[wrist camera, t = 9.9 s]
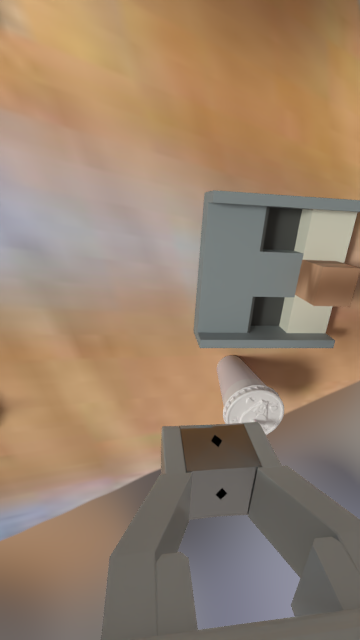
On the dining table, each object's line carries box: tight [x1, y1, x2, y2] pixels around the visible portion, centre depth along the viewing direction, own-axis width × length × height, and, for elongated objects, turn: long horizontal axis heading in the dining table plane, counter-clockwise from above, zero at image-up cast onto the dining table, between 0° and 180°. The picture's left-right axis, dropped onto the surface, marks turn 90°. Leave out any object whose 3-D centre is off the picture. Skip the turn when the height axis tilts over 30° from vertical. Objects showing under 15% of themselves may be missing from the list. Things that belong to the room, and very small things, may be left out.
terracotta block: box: [295, 260, 360, 307], centre depth 30 cm, size 4×4×4 cm
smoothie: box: [217, 355, 284, 435], centre depth 32 cm, size 6×6×14 cm
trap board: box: [194, 191, 360, 348], centre depth 32 cm, size 16×16×4 cm
